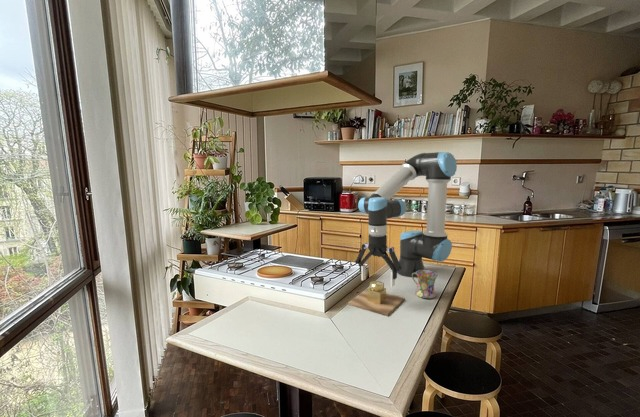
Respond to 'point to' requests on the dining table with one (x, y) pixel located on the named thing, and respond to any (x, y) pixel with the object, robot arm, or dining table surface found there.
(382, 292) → the knob
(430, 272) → the mug
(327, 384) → the dining table surface
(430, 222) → the robot arm
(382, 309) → the plate
